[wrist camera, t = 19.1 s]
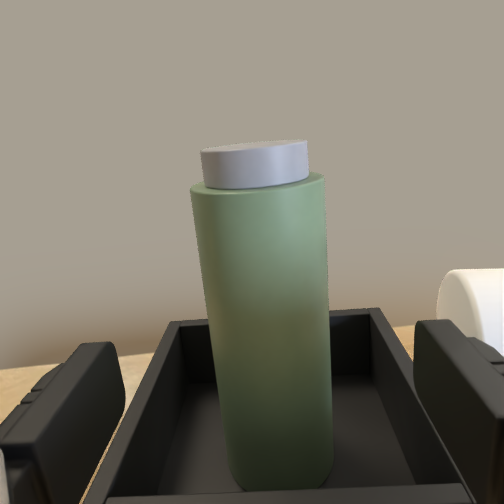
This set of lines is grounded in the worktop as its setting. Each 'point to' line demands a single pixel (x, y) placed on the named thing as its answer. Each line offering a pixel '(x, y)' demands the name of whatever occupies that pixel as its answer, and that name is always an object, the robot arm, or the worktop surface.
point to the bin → (344, 428)
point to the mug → (474, 304)
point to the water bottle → (268, 310)
